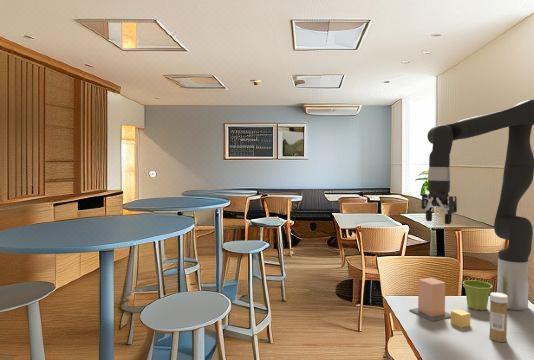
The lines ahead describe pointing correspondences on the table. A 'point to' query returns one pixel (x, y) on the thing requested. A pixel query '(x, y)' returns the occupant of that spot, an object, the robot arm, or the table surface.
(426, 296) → the tall peach pillar
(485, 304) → the plant pot
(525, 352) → the table surface
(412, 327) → the table surface
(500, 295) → the spice jar
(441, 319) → the gray mat
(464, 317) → the ochre block
